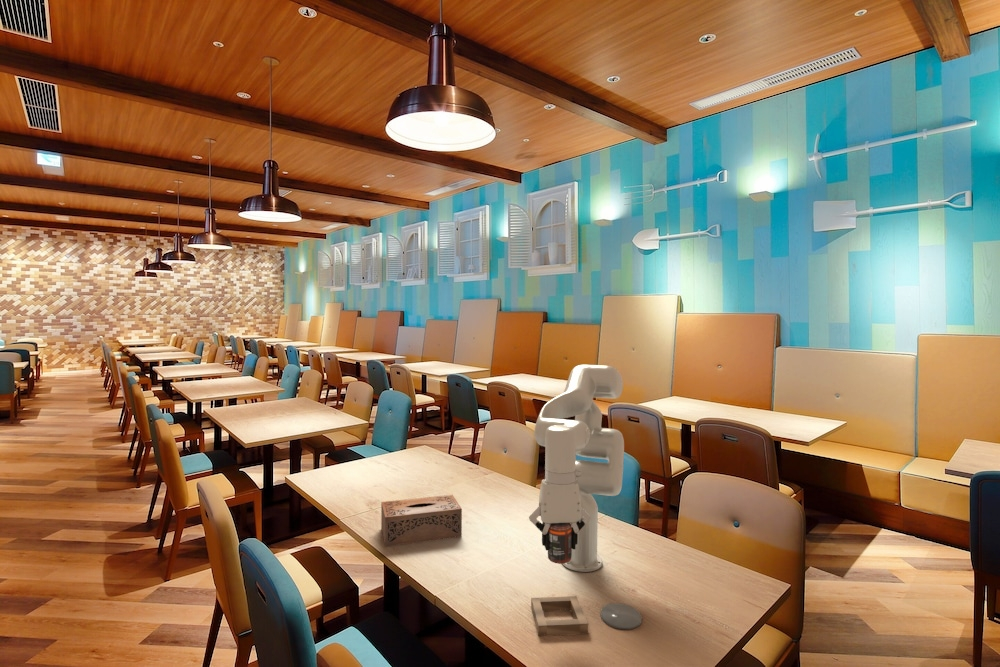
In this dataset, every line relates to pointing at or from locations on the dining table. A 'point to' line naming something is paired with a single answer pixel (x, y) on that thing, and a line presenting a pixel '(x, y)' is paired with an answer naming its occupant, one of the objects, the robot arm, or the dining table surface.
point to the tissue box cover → (420, 520)
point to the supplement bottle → (560, 542)
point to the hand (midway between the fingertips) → (559, 546)
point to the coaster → (621, 616)
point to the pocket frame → (559, 626)
